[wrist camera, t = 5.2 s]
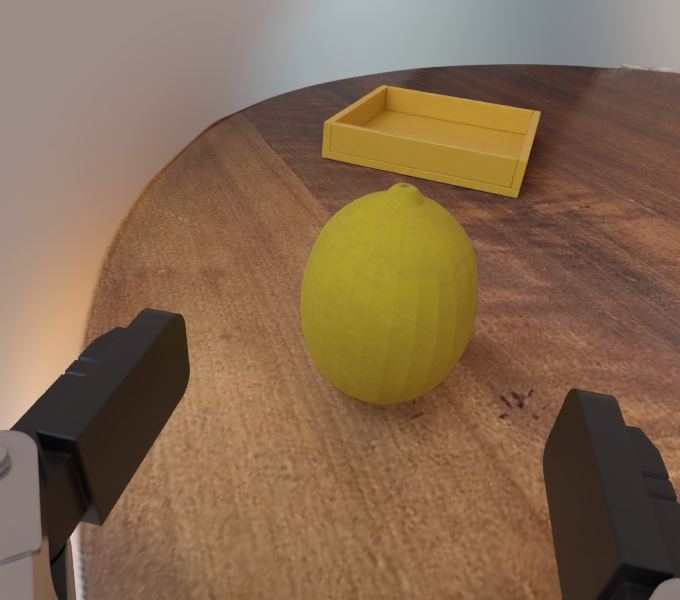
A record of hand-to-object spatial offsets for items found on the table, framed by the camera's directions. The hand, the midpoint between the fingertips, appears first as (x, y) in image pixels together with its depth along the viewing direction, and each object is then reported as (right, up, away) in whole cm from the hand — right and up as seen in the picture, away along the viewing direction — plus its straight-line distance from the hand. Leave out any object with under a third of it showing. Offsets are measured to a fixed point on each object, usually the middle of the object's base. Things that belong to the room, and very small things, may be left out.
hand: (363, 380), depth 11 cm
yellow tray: (+7, +14, +32) cm, 36 cm away
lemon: (+1, -2, +8) cm, 9 cm away
